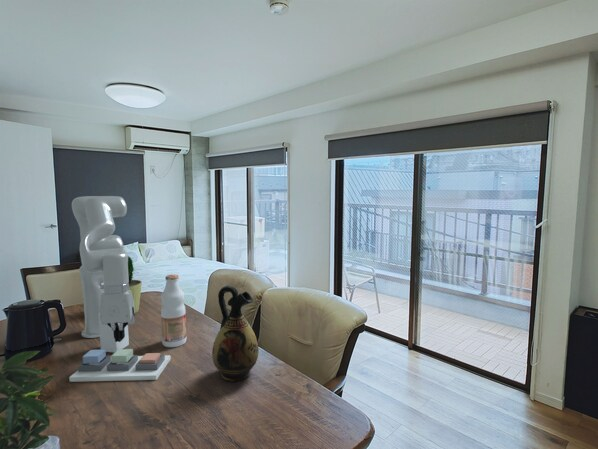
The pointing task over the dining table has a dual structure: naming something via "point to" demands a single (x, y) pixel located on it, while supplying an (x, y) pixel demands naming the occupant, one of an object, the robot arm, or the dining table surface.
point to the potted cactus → (134, 285)
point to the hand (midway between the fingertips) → (119, 340)
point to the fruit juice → (173, 313)
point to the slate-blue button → (94, 356)
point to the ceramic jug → (234, 339)
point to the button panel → (120, 370)
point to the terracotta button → (150, 358)
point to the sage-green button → (122, 356)
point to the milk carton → (111, 338)
